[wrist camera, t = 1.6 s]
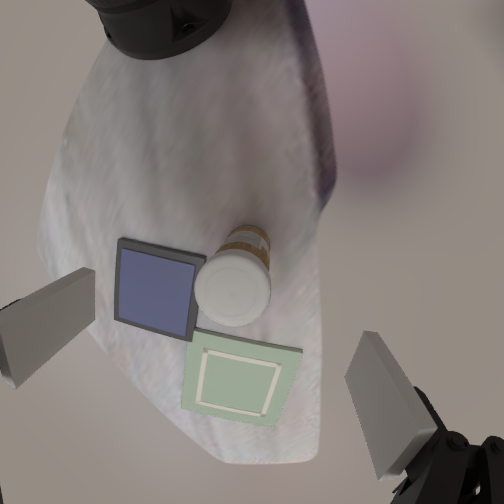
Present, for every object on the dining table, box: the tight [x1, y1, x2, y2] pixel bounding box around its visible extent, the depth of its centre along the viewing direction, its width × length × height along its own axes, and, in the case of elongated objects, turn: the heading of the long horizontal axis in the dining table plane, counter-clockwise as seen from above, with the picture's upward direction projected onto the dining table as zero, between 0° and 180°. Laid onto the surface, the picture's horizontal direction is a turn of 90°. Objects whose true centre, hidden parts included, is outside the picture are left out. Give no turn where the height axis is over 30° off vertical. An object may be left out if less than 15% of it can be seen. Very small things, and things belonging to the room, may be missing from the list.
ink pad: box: [114, 238, 206, 342], centre depth 31 cm, size 10×10×1 cm
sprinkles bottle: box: [194, 225, 271, 327], centre depth 23 cm, size 5×5×14 cm
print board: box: [181, 327, 303, 427], centre depth 33 cm, size 13×13×1 cm
